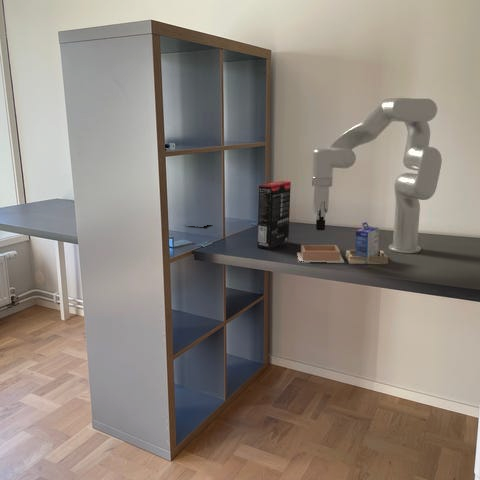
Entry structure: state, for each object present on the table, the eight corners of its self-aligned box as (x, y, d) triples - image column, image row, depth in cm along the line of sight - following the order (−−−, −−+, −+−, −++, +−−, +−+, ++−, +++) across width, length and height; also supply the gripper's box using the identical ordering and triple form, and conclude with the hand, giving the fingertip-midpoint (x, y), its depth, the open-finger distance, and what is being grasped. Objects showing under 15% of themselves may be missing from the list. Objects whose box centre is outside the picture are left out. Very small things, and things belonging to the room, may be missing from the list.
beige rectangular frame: (345, 257, 195) (346, 250, 194) (381, 257, 194) (382, 250, 194) (349, 264, 185) (350, 256, 185) (387, 265, 185) (388, 257, 184)
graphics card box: (276, 240, 223) (277, 180, 216) (290, 242, 219) (291, 181, 213) (256, 248, 209) (257, 184, 202) (271, 251, 205) (271, 185, 199)
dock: (296, 254, 199) (297, 244, 198) (339, 255, 198) (340, 244, 197) (298, 263, 187) (299, 252, 186) (344, 263, 186) (344, 252, 185)
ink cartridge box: (364, 256, 195) (366, 220, 192) (378, 258, 192) (380, 221, 189) (353, 261, 188) (355, 224, 184) (367, 264, 184) (369, 226, 181)
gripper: (310, 179, 193) (308, 225, 197) (313, 184, 178) (312, 234, 183) (329, 179, 193) (327, 225, 197) (334, 184, 178) (332, 234, 182)
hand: (320, 229), depth 190 cm, fingers closed
